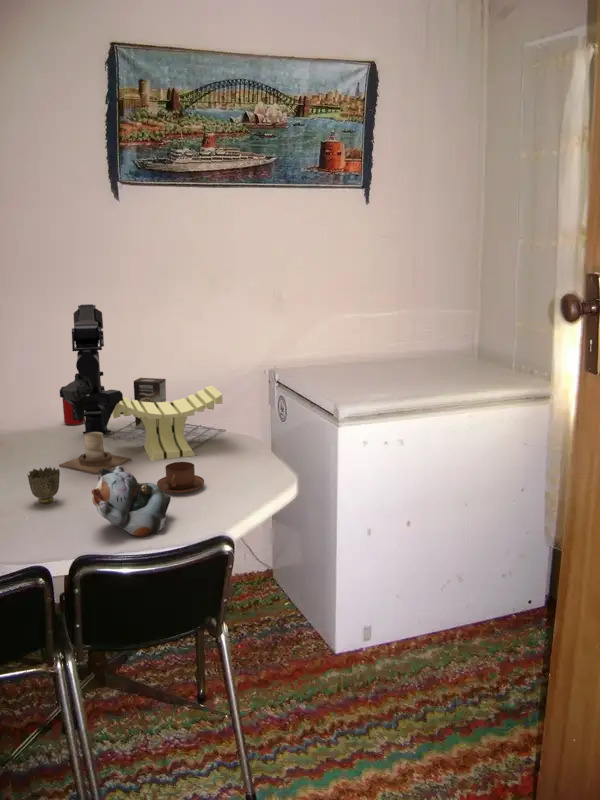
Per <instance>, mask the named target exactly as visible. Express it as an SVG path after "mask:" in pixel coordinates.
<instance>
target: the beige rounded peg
mask: <svg viewBox="0 0 600 800" xmlns="http://www.w3.org/2000/svg"><path fill="white" fill-rule="evenodd" d="M103 436H104V434H103V433H101V432H90V433H86V434H84V435H83V437H84V450H85V453H86V459H87V460H98V459H103V458H104V452H105V450H104V449H105V448H104V437H103Z"/></svg>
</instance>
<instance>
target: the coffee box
mask: <svg viewBox="0 0 600 800" xmlns="http://www.w3.org/2000/svg"><path fill="white" fill-rule="evenodd" d="M166 380H167V379H166V378H157V377H156V378H155V377H152V378H151V377H139V378H136V379H135V380H133V395H134V396H133V397H134V398H133V400H138V402H139V404H140V405H141V402H153V403H154V404H156V402H167V389H166V387H167V386H166V385H167V384H166ZM134 419H135V429H139V430H140V429H141V430H146V429H145V426H144V423H143V421H142V419H141V417H140V418H138V417H134ZM156 427H157V419H156Z"/></svg>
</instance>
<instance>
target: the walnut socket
mask: <svg viewBox="0 0 600 800" xmlns="http://www.w3.org/2000/svg"><path fill="white" fill-rule="evenodd" d="M131 461H132V458H131V457H126V456H121V455H120V456H119V455H116V454H112V453H110V452H108V451H104V458H103V459H98V460H87V459H86V452H85V453H82V454H81V455H79V456H78V457H76V458H73V459H71V460H68V461H67V460H66V461H65V462H63V463H59V465H58V466H59V467H60V468H65V469H69V470H74V471H77V472H83V473H88V474H90V475H91V474H92V475H95V476H96V475H98V474H100V473H99V470H100V469H106V470H109V471H110V470H112V469H114V468H116V467H118V466H121V465H123V464H124V465H125V464H126V463H129V462H131Z"/></svg>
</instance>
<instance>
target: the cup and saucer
mask: <svg viewBox="0 0 600 800" xmlns="http://www.w3.org/2000/svg"><path fill="white" fill-rule="evenodd" d="M204 484H205V479H204V478H203V477H201V476H199V475H196V474H195V464H194V463H192V462H188V461H175V462H171V463H168V464H167V465H165V476H163V477H162V478H160V479H158V481H156V485H157V486H159V487H160V488H161V490H162V491H163V492H165V493H169V494H188V493H191V492H194V491H197V490H199V489H200V488H202V487H203V485H204Z"/></svg>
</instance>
